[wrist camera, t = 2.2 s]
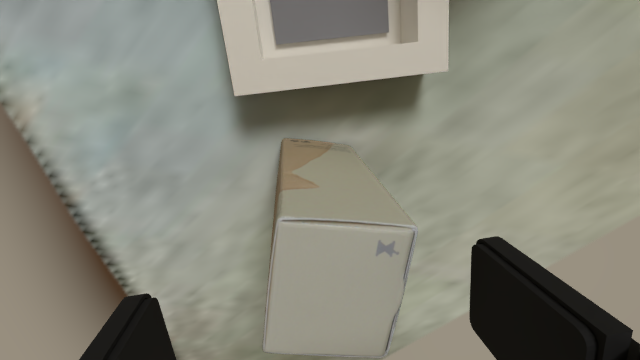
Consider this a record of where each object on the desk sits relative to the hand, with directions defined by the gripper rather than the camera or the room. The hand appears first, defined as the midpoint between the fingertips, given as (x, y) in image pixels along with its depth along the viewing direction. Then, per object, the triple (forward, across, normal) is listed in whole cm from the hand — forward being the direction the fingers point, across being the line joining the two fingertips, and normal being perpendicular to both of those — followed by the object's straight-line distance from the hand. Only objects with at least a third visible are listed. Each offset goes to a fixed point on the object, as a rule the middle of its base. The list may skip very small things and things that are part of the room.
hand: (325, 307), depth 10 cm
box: (+12, -1, 0) cm, 12 cm away
